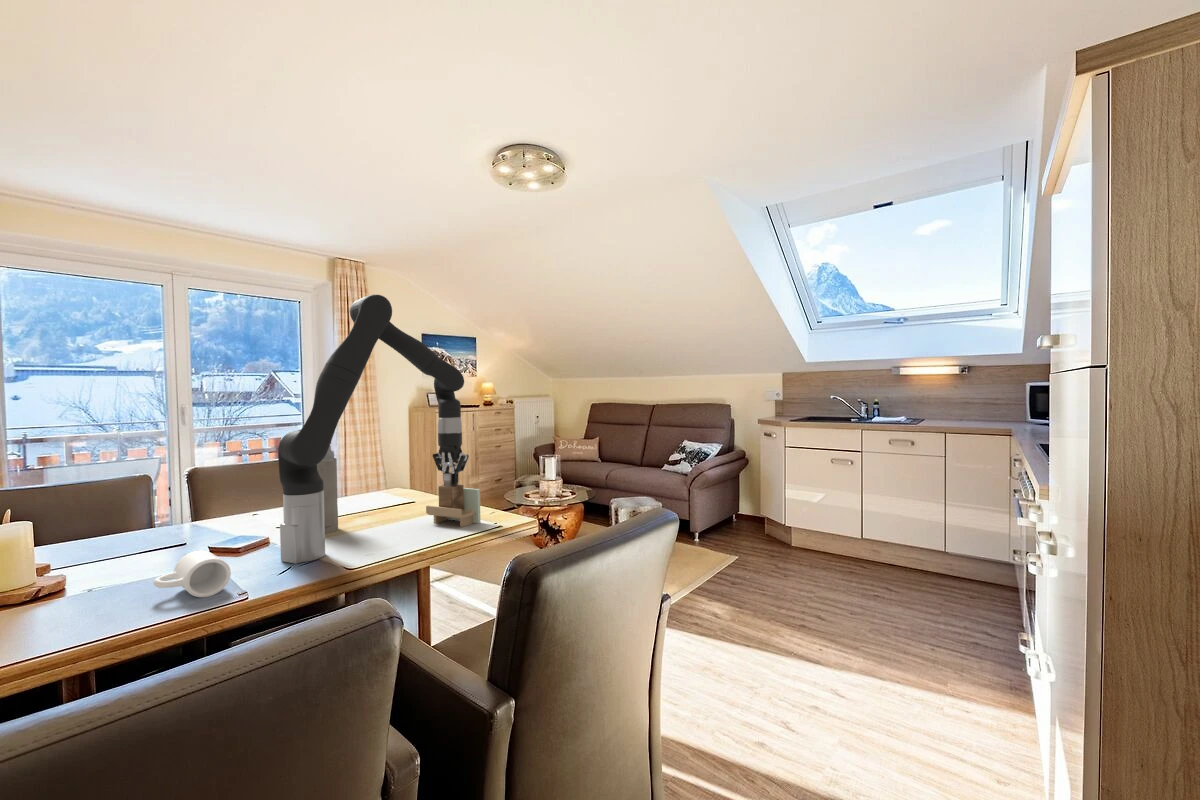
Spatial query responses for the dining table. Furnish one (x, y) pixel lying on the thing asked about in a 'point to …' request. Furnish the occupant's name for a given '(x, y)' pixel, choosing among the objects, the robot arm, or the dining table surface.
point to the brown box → (451, 494)
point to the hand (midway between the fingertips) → (451, 484)
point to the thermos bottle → (329, 490)
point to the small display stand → (464, 516)
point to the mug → (197, 574)
